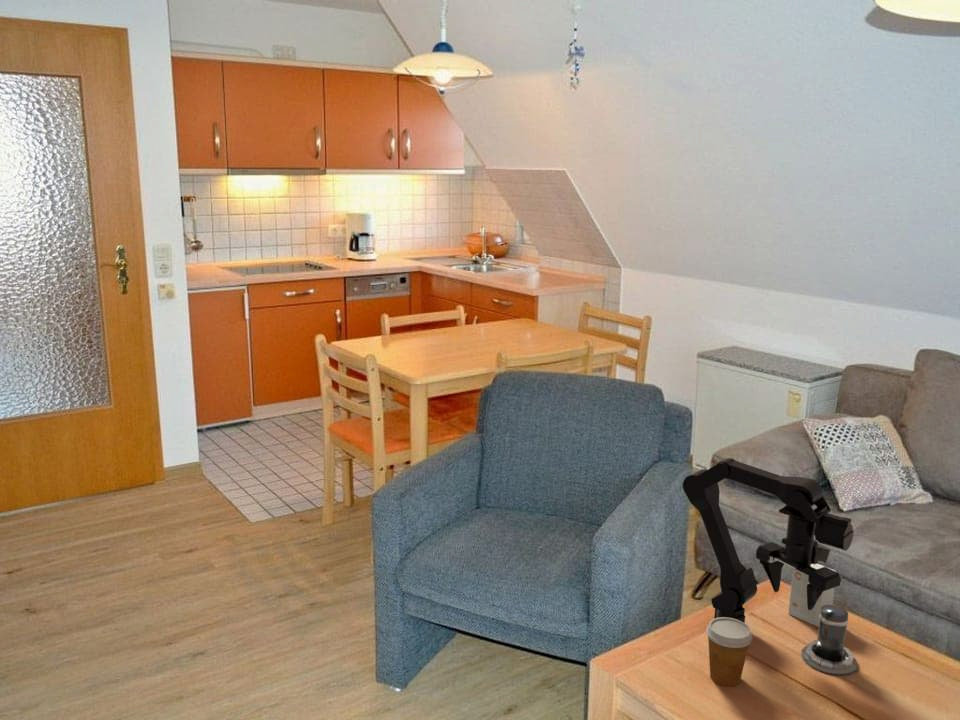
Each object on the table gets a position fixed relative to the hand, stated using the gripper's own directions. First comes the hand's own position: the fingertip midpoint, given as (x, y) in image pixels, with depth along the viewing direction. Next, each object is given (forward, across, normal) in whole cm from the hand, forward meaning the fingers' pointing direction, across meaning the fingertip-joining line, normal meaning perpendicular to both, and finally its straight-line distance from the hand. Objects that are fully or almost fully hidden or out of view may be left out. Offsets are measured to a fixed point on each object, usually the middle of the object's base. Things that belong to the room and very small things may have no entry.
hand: (793, 600), depth 189 cm
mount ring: (+13, -7, -6) cm, 16 cm away
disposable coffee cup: (+13, 0, +20) cm, 24 cm away
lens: (+12, -7, -6) cm, 15 cm away
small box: (+13, +8, -18) cm, 24 cm away
